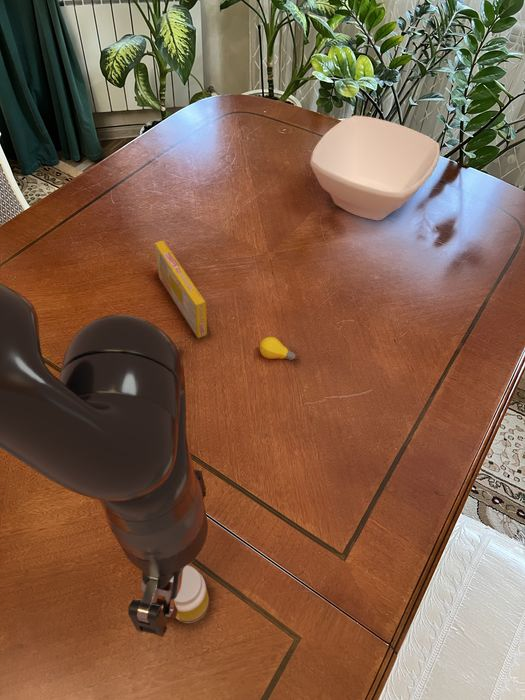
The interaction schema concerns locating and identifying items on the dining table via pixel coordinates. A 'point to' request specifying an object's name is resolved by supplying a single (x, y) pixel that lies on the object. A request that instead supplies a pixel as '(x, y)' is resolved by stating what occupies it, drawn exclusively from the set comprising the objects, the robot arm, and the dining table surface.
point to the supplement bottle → (191, 596)
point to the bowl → (373, 165)
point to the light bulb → (275, 349)
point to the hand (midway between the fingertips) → (179, 569)
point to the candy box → (181, 289)
